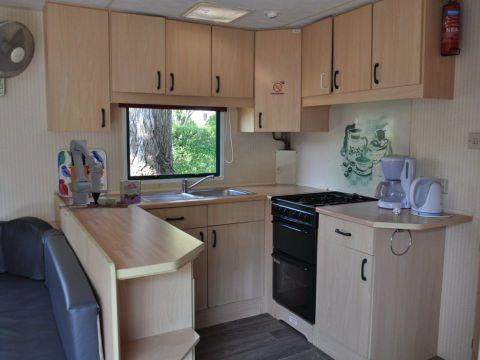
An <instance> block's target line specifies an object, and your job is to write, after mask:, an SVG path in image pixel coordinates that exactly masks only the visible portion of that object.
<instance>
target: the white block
mask: <svg viewBox="0 0 480 360" xmlns="http://www.w3.org/2000/svg"><path fill="white" fill-rule="evenodd" d="M107 202H108V197H99V198H98V204H107Z"/></svg>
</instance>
